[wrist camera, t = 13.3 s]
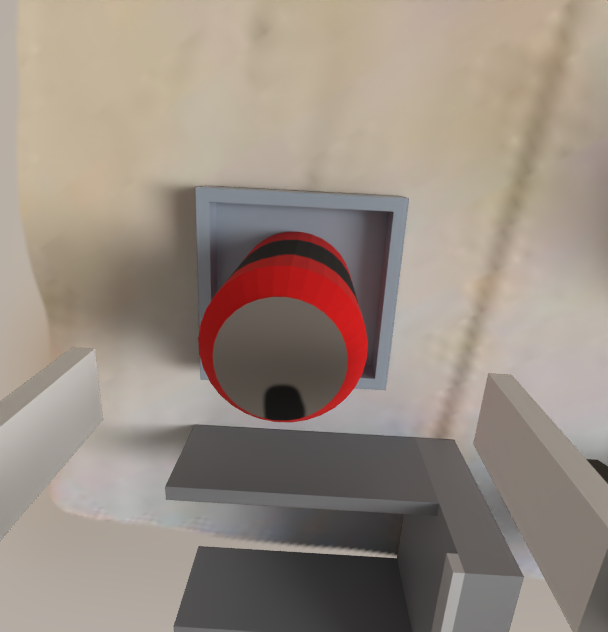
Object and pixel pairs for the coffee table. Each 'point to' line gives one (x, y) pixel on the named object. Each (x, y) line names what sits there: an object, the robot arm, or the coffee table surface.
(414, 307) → the coffee table surface
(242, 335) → the soda can
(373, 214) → the tray
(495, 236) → the coffee table surface
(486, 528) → the gray open box
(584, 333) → the coffee table surface
